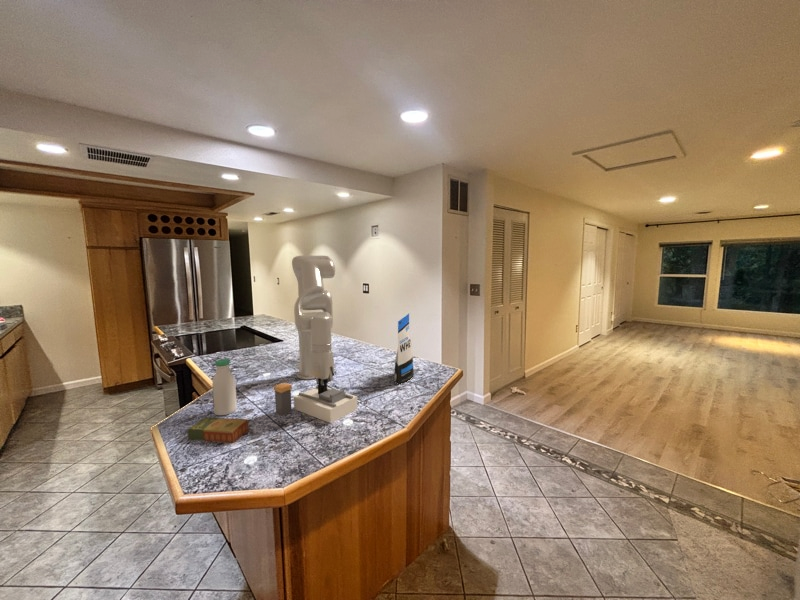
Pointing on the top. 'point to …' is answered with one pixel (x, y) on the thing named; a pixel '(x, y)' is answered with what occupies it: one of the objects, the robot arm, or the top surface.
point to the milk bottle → (224, 389)
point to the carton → (218, 429)
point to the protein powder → (403, 353)
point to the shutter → (332, 395)
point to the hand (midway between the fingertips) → (322, 393)
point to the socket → (324, 405)
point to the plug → (283, 398)
